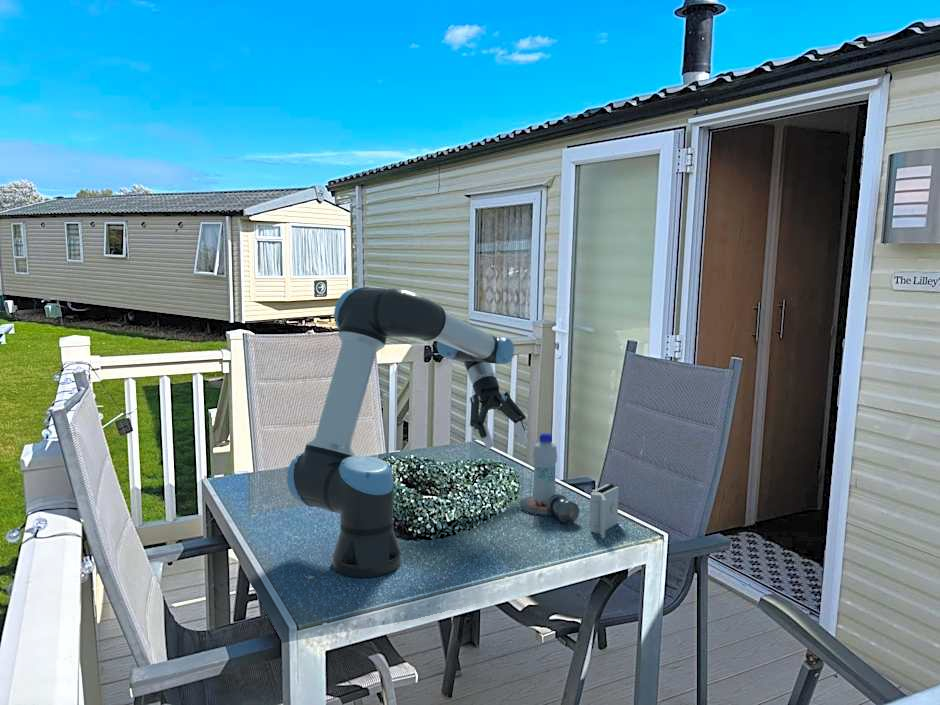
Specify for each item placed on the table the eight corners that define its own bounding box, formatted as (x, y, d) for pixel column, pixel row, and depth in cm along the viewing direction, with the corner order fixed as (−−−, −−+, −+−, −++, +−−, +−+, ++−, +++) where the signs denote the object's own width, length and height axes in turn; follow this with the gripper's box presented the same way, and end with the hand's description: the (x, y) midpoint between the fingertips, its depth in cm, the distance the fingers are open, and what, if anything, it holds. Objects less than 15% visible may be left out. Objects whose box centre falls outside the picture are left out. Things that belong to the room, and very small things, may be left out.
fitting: (591, 520, 180) (592, 499, 180) (545, 527, 175) (545, 504, 174) (554, 497, 199) (555, 477, 199) (511, 502, 194) (511, 481, 194)
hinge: (604, 539, 168) (605, 500, 166) (583, 536, 170) (584, 497, 169) (619, 521, 180) (620, 485, 179) (599, 518, 182) (600, 482, 181)
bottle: (551, 498, 194) (553, 430, 192) (559, 506, 188) (561, 435, 185) (529, 500, 193) (530, 431, 191) (536, 507, 186) (537, 436, 184)
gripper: (506, 384, 215) (530, 446, 207) (444, 387, 199) (467, 454, 191) (520, 373, 210) (545, 436, 202) (458, 375, 194) (482, 444, 186)
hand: (507, 445), depth 196 cm, fingers open, 13 cm apart
